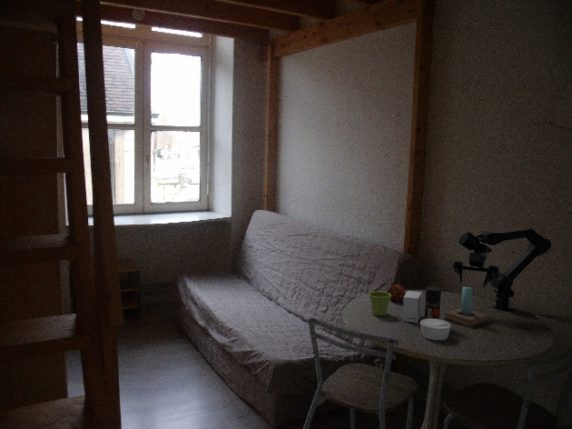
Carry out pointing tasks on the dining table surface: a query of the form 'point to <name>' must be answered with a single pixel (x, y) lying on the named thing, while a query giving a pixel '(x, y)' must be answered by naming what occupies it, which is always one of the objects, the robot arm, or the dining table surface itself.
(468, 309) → the peg
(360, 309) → the dining table surface
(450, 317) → the socket block
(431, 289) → the deodorant
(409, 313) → the skincare box
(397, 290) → the dragon fruit
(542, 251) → the robot arm
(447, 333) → the ramekin
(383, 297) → the plant pot
